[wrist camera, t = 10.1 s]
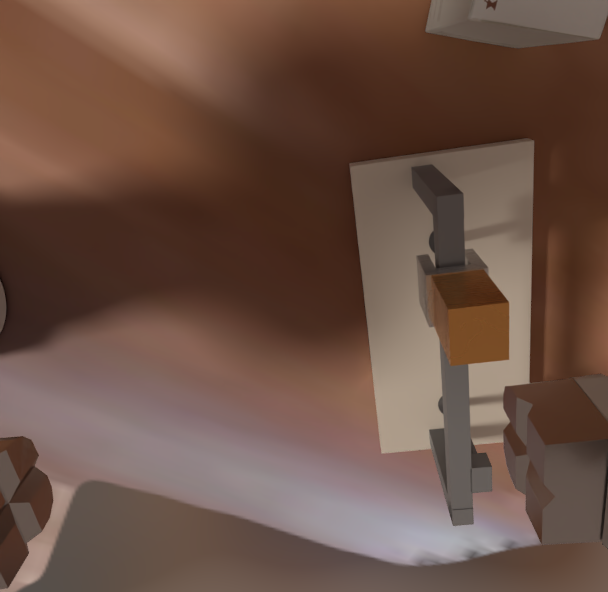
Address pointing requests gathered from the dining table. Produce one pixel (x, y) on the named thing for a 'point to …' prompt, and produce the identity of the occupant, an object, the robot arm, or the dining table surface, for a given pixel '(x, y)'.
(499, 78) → the dining table surface
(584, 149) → the dining table surface
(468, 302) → the leg
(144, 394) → the dining table surface
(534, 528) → the robot arm
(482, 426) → the hole plate
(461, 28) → the supplement box
